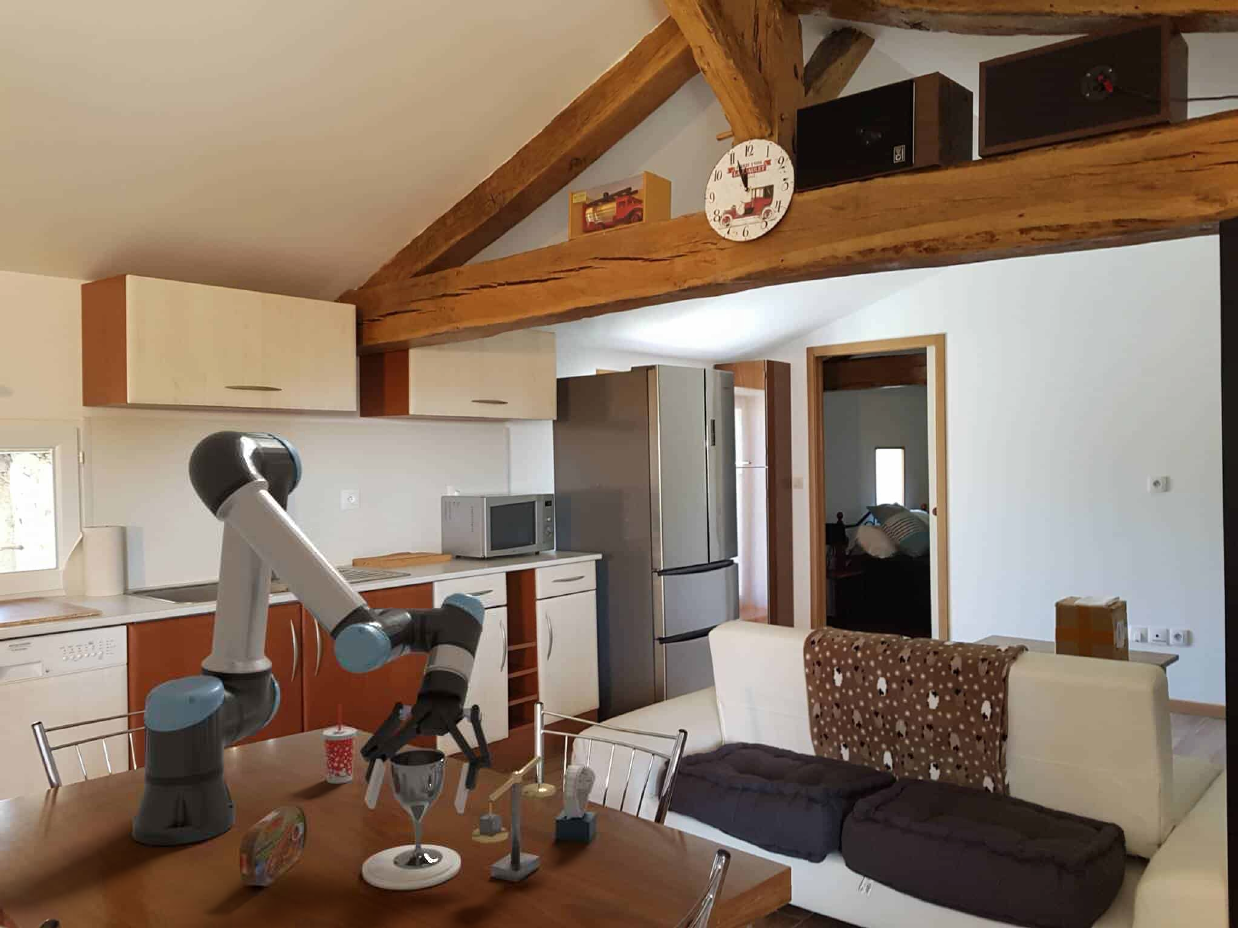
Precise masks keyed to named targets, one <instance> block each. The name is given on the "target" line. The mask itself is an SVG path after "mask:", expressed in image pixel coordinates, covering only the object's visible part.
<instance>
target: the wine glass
mask: <svg viewBox="0 0 1238 928" xmlns="http://www.w3.org/2000/svg"><path fill="white" fill-rule="evenodd" d="M445 773H446V754H445V753H444V752H443V751H442V750H440V749H436V748H429V747H427V748H426V747H425V748H424V747H422V748H421V747H420V748H419V747H417V748H416V747H415V748H409V749H405V750H401V751H400V750H399V751H398V752H396V753H395V754H393V755H392V756H391V757H390V758H389V778H390V785H391V789H392V793H393V796H394V798H395V800H396V801H397V802H398V803H399V805H401V806H402V807H403V809H404V810H405V811H406V812H407V813H408V814H409V815H410V817H411V819H412V822H413V828H414V836H415V837H414V838H415V844H414V845H415V848H414V849H409V850H406V851H403V852H401V853H399V854H398V855H396V856H395V857H394V860H393V862H394V864H395V865H396V866H398V867H400V868H404V869H423V868H428V867H431V866H434V865H436V864H437V863H439V862H440V861H441V860H442V859H443V855H442V853H441V852H440V851H438V850H435V849H432V848H421V845H422V841H421V839H422V829H423V828H422V827H423V821H424V818H425V815H426V813H427V812H428V810H429V809H430V808H432V806H433V804H434V803H435V802H436V801H437V800H438V798H439V797H440V795H441V793H442V790H443V785H444V782H445V775H446V774H445Z"/></svg>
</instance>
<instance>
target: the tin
mask: <svg viewBox="0 0 1238 928" xmlns="http://www.w3.org/2000/svg"><path fill="white" fill-rule="evenodd" d="M307 830H308V827H307V819H306V815H305V812H304V810H303V809H302V807H300V806H299V805H290V806H289V805H287V806H285V805H284V806H279V807H277V808H275V809H274V810H273V811H271V812H269V813H268V814H267V815H265V816H264V817H263V818H261V819H260V820H258V821H257V822H256V823H253V825H251V826H250V827H249V828H248V829H247V830H246V832H245V834H244V835H243V838H242V840H241V842H240V847H239V850H238V855H239V871H240V872H239V873H240V878H241V880H242V881H243V882H244V884H246V885H247V886H258V887H259V886H260V887H268V886H270V885H272V884H273V883H274V882H275V881H277V879H279V878H280V877H281V876H283V874H284V873H286V872H287V871H288V870H289V869H291V868H292V867H293V866H294V865H295V864H297V862H298V861H299V860H300V858H301V857H302V854H303V853H304V849H305V847H306V841H307V832H308V831H307Z"/></svg>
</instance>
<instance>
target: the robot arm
mask: <svg viewBox="0 0 1238 928" xmlns="http://www.w3.org/2000/svg"><path fill="white" fill-rule="evenodd" d="M302 472H303V467H302V461H301V457H300V455H299V453H298V451H297V450H296V449H295V448H294V446H293V445H292V443H290V442H289V441H288V440H286V439H285V438H283V437H280V436H279V435H275V434H271V433H267V432H254V431H253V432H252V431H250V432H249V431H247V432H244V431H243V432H242V431H236V430H221V431H219V432H214V433H211V434H209V435H208V436H206V437H204V438H203V439H202V440H200V441H199V442H198V443H197V445H196V446H195V447H194V448H193V451H192V452H191V454H190V458H189V462H188V476H189V479H190V483H191V485H192V487H193V489H194V491H195V493H196V495H197V496H198V498H199V499H200V500H201V502H202V503H203V504H204V506H205V507H206V508H207V510H209V511H210V513H211V514H212V515H213V516H214V517H215V519H217V520H218V521H219V522H223V523H224V524H223V530H222V531H223V532H222V543H221V553H220V562H219V563H220V565H219V575H218V584H217V593H216V594H217V595H216V596H217V597H216V603H215V604H216V606H215V617H214V627H213V628H214V629H213V637H212V638H213V639H212V645H211V646H212V647H211V649H212V650H211V653H210V654H209V655H208V656H207V657H206V658H205V659H203V660H202V661H201V666H200V674H199V675H190V676H184V677H181V678H179V679H172V680H171V679H170V680H168V681H166V682H163V683H161V684H158V685H157V686H155V687H154V688H153V689H151V691H149V693H148V695H147V696H146V699H145V708H144V713H143V722H144V787H143V791H142V793H141V796H140V800H139V804H138V807H137V810H136V813H135V815H134V817H133V821H132V838H133V839H134V840H135V841H136V842H138V843H141V844H145V845H150V846H176V845H178V846H179V845H184V844H190V843H191V844H192V843H197V842H201V841H204V840H208V839H211V838H214V837H217V836H219V835H221V834H224V833H225V832H227V831H229V830H230V829H231V828H232V827H233V826H234V825H235V823H236V808H235V804H234V803H233V799H232V796H231V793H230V790H229V787H228V785H227V782H226V779H225V775H224V755H225V754H224V753H225V751H224V749H225V748H226V747H228V746H230V745H232V744H235V743H236V742H238V741H241V740H242V739H244V738H249V737H251V736H252V735H255V734H257V733H258V732H259V731H261V730H262V729H263V728H265V727H266V726H267V725H268V724H270V722H271V721H272V720H273V718H274V717H275V715H276V713H277V712H278V709H279V707H280V703H281V702H280V701H281V690H280V686H279V682H278V681H277V680H276V679H275V675H274V674H273V673H272V669H273V665H272V664H273V663H272V661H271V660H270V659H269V658H268V657H267V656H266V655H265V644H266V635H267V626H268V625H267V624H268V613H269V603H270V592H271V584H272V574H273V573H274V575H276V577H278V579H279V580H280V581H281V582H282V584H283V585H285V586H286V588H287V589H288V590H289V591H290V592H291V594H292V595H293V596H294V597H295V598H296V599H297V600H298V602H300V604H301V605H302V606H303V607H304V608H305V609H306V611H308V612H309V614H310V615H311V616H312V617H313V618H314V619H315V621H316V622H317V623H318V624H319V625H320V626H321V627H322V628H323V630H324V631H325V632H326V633H327V634H328V635H329V636H330V637H331V639H332V640H333V641H334V648H333V649H334V654H335V657H336V661H337V663H338V664H339V665H340V666H341V667H342V668H343V669H344V670H345V671H348V672H349V673H354V674H363V673H367V672H371V671H375V670H378V669H379V668H382V667H383V666H384V665H385V664H387V663H389V662H391V661H394V660H397V659H398V658H400V657H402V656H405V655H407V654H409V655H410V654H428V657H427V660H426V662H425V663H426V664H425V666H424V670H423V676H422V678H421V681H420V685H419V689H418V692H417V696H416V700H415V703H414V704H413V705H412V706H410V705H406V704H405V705H404V703H402V702H401V701H397V702H395V704H394V705H393V708H392V710H391V713H390V714H389V715H388V717H387V718H386V719H385V720H384V721H383V722H382V724H381V725H380V726H379V727H378V729H377V730H376V731H375V732H374V733H373V735H372V736H371V737H370V738H369V739H368V740H367V742H366V743H365V744H364V745H363V746H362V748H361V749H360V751H359V753H360V754H361V756H362V758H363V760H364V762H367V763H368V767H367V771H366V773H365V782H366V783H367V785H368V786H367V789H366V793H365V797H364V799H363V800H364V802H365V803H366V805H367V807H368V809H370V810H371V809H375V807H376V804H377V800H378V797H379V794H380V790H381V787H382V783H383V779H384V776H385V772H386V770H387V767H386V765H385V762H387V761H388V760H390V757H391V756H392V755H393V754H395V753H397V752H400V750H401V749H403V748H404V747H405V746H406V745H407V744H408V743H410V742H411V741H412V740H414V739H417V738H418V737H420V736H421V735H422V734H423V735H424V737H425V736H428V737H429V736H437V737H444V736H445V735H447V734H448V733H449V734H450V736H451V738H452V739H453V740H454V742H455V744H456V745H457V746H458V748H459V750H460V751H461V753H462V754H463V756H464V757H465V759H466V760H467V762H463V765H462V768H461V772H460V778H459V782H458V786H457V790H456V791H457V792H456V795H455V800H454V803H453V804H454V807H455V809H456V811H457V813H458V814H464V813H465V807H466V803H467V798H468V793H469V790H475V788H476V785H477V781H478V777H479V772H480V770H481V769H482V768H491V767H492V766H493V765H494V762H493V758H492V756H491V752H490V748H489V745H488V743H487V740H486V736H485V733H484V730H483V726H482V721H483V720H482V719H483V713H482V711H481V709H480V706H479V705H478V704H476V703H475V704H473V705H471V707H465V708H464V706H465V702H466V698H467V694H468V692H469V691H468V690H469V684H470V680H471V677H472V673H473V668H474V664H475V660H476V654H477V651H478V647H479V643H480V638H481V636H482V635H481V634H482V633H483V628H484V627H483V626H484V625H483V624H484V621H485V615H486V614H485V613H486V609H485V606H484V605H483V603H482V601H480V599H478V598H477V597H475V596H474V595H472V594H469V593H464V592H456V593H452V594H451V595H447V596H446V597H445V598H444V600H443V601H442V604H440V605H441V606H440V607H432V608H395V607H388V608H384V609H383V608H381V609H375V610H374V609H373V608H372V607H371V606H370V605H369V604H368V603H367V602H366V600H365V599H364V598H363V597H362V596H361V594H360V593H359V592H358V591H357V590H356V589H355V588H354V586H353V585H352V584H351V583H349V581H348V580H347V579H346V577H344V575H343V574H342V573H341V572H340V571H339V570H338V569H337V567H336V566H335V565H334V564H333V563H332V562H331V561H330V560H329V559H328V557H326V555H325V554H324V553H323V552H322V550H320V549H319V547H318V546H317V545H316V544H315V543H314V542H313V540H311V538H310V537H309V536H308V535H307V534H306V533H305V532H304V531H303V530H302V529H301V527H300V526H299V525H298V524H297V523H296V522H295V521H294V519H292V517H291V516H290V515H289V514H288V513H287V512H288V511H287V509H288V501H289V495H291V494H292V493H293V491H294V490H296V489H297V487H298V486H299V483H300V482H301V478H302ZM272 572H273V573H272ZM409 716H412V717H411V718H410V719H408V720H407V718H408V717H409ZM464 718H466V719H467V721H468V723H471V726H472V729H473V733H474V736H475V738H476V739H475V740H476V741H477V745H478V749H479V752H480V755H476V754H475V752H474V750H473V749H472V747H471V745H470V744H469V743H468V742H467V740H466V738H465V737H464V735H463V734H462V732H461V730H460V729H459V727H458V726H457V725H459V724H460V723H461V721H463V719H464ZM406 720H407V721H406ZM403 721H406V723H405V725H404V726H403V727H402V728H400V729H399V727H401V725H402V723H403ZM416 726H417V727H416ZM398 729H399V730H398ZM397 730H398V731H397ZM396 731H397V732H396ZM395 732H396V733H395Z"/></svg>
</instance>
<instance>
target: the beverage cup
mask: <svg viewBox="0 0 1238 928" xmlns="http://www.w3.org/2000/svg"><path fill="white" fill-rule="evenodd" d="M337 705H338V707H337V708H338V713H337V714H338V719H337V720H338V721H337V722H338V724H337V725H338V727H333V728H332V727H331V728H329V729H326V730H323V732H322V738H323V739H324V755H325V768H326V769H325V770H326V771H325V772H326V781H327V782H328V783H329V784H344V783H348V782H350V781H352V780H353V777H354V776H353V774H354V759H355V758H354V757H355V742H356V736H357V729H356V728H354V727H349V726H347V727H346V726H345V727H344V726H343V727H342V704H337Z"/></svg>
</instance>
